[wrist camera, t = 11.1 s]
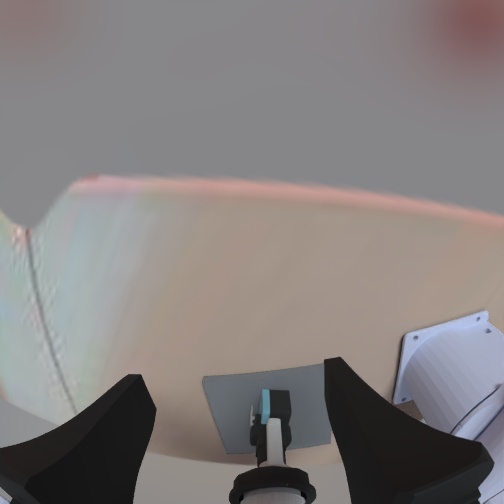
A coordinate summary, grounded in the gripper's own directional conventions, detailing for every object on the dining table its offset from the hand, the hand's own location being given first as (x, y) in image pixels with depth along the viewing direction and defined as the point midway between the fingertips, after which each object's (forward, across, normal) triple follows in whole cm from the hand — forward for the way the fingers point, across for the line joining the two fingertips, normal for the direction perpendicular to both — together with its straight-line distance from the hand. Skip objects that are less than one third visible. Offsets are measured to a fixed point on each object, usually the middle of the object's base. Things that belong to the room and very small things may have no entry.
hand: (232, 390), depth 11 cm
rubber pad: (+10, -1, +12) cm, 15 cm away
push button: (+9, 0, +11) cm, 14 cm away
